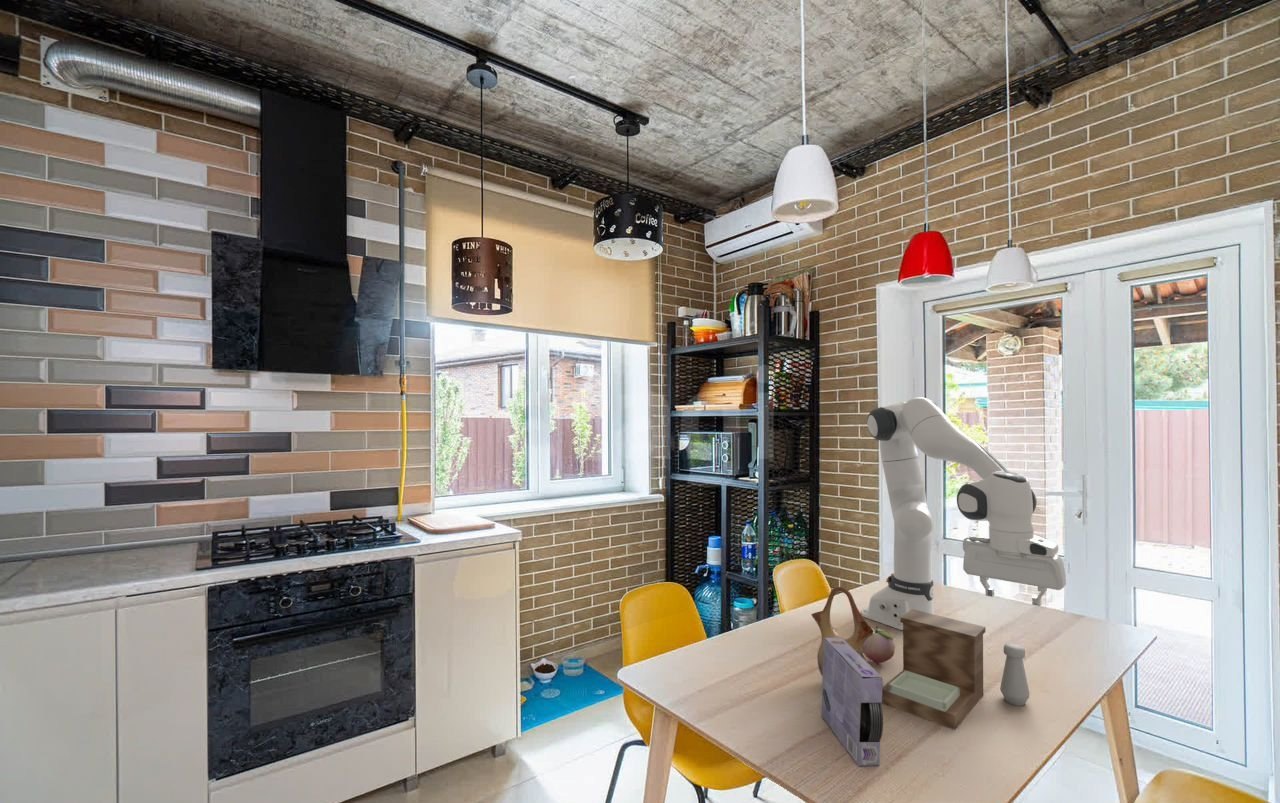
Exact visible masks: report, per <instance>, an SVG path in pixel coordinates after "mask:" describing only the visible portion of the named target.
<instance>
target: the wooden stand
mask: <svg viewBox="0 0 1280 803" xmlns="http://www.w3.org/2000/svg"><path fill="white" fill-rule="evenodd" d="M900 622H902V623H903V630H902V662H903V663H902V665H903V666H902V670H901V671H900V672H899V673H897V674H896V675H895V676H894V677H892V678H891V679H890V680H889V681H888V682H886V684H884V685H882V702H881V704H885V705H888V706H891V707H893V708H896V709H898V710H901V711H904V712H906V713H910V714H912V715H915V716H917V717H921V718H924V719H926V720H929V721H930V722H933V723H937V724H939V725H941V726H945V727H947V728H949V729H953V730H957V728H958V727H959V726H960V725H961V723H963V722H964V720H965V718H966V717H967V716H968V715H969V714H970V712H971V711H972V710H973V709H974V707H975V706H976V705H977V704H978V702H980V700H981V699H982V697H983V696H984V634H985V633H986V626H983V625H978V624H974V623H970V622H966V621H962V620H960V619H959V620H958V619H954V618H950V617H945V616H942V615H938V614H935V615H934V614H930V613H926V612H922V611H918V610H913V609H912V610H911V611H909V612H908V613H906V614H905V615H903V616H902V617H900ZM905 670H906V671H909V672H912V673H915V674H919V675H922V676H925V677H928V678H931V679H934V680H937V681H940V682H943V683H947V684H950V685H953V686H956V687H959V688H960V696H959V697H958V698H957V699H956V700H955V702H954V703H953V704H952V705H951V706H950V707H949V708H948V710H947V711H946V712H944V711H941V710H938V709H935V708H933V707H930V706H927V705H924V704H921V703H918V702H916V701H913V700H910V699H907V698H904V697H902V696H899V695H896V694H893V693H890V692H889V684H890V683H891V682H892V681H893V680H895V679H896V678H897V677H898V676H899V675H900V674H902V673H903V672H904V671H905Z"/></svg>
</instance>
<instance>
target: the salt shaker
mask: <svg viewBox="0 0 1280 803" xmlns="http://www.w3.org/2000/svg"><path fill="white" fill-rule="evenodd" d="M1003 654H1004V655H1005V656H1006V657H1005V661H1004V666H1003V672H1002V678H1001V682H1000V687H999V689H1000V692H1001V694H1002V696H1003V698H1004V700H1005V701H1006V702H1007V703H1009V704H1011V705H1013V706H1019V707H1020V706H1021V707H1023V706H1024V705H1025V704H1026V702H1027V701H1028V700H1029V699H1030V695H1031V692H1030V689H1029V684H1028V678H1027V674H1026V669H1025V665H1024V664H1025V663H1024V659H1025V657H1026V650H1025V648H1024V647H1023V646H1021V645H1019V644H1016V643H1010V642H1009V643H1006V644H1004V645H1003Z"/></svg>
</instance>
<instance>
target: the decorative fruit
mask: <svg viewBox="0 0 1280 803" xmlns="http://www.w3.org/2000/svg"><path fill="white" fill-rule="evenodd" d="M872 628H873V629H874V631H875V633H874V634H873V635H872V636H870V637H869V638H867V639H866V640H865V642H864V644H863V647H862V651H863V654H864V656H865V657H866V658H867V659H869V661H872V662H873V663H875V664H881V663H886V662H887V661H890V660H891V659H892V658H893V657H894V655H895V651H896V650H895V649H896V643H895V640H894V638H893V637H892V635H891V634H890V633H889V632H887V631H885V630H884V629H881V628H878V625H876V626H875V627H872Z"/></svg>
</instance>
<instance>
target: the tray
mask: <svg viewBox="0 0 1280 803" xmlns="http://www.w3.org/2000/svg"><path fill="white" fill-rule="evenodd" d="M889 692H890V693H893V694H896V695H899V696H902V697H904V698H907V699H910V700H913V701H916V702H918V703H921V704H924V705H927V706H930V707H933V708H935V709H938V710H941V711H944V712H946V711H947V710H948V708H949V707H950V706H951V705H952V704H953V703H954V702H955V700H956V699H957V698H958V697H959V696H960V688H959V687H956V686H953V685H950V684H947V683H943V682H940V681H937V680H934V679H931V678H928V677H925V676H922V675H919V674H915V673H912V672H909V671H906V670H905V671H904V672H903V673H902V674H900V675H899V676H898V677H897V678H896V679H895V680H893V681H892V682H891V683H890V684H889Z"/></svg>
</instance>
